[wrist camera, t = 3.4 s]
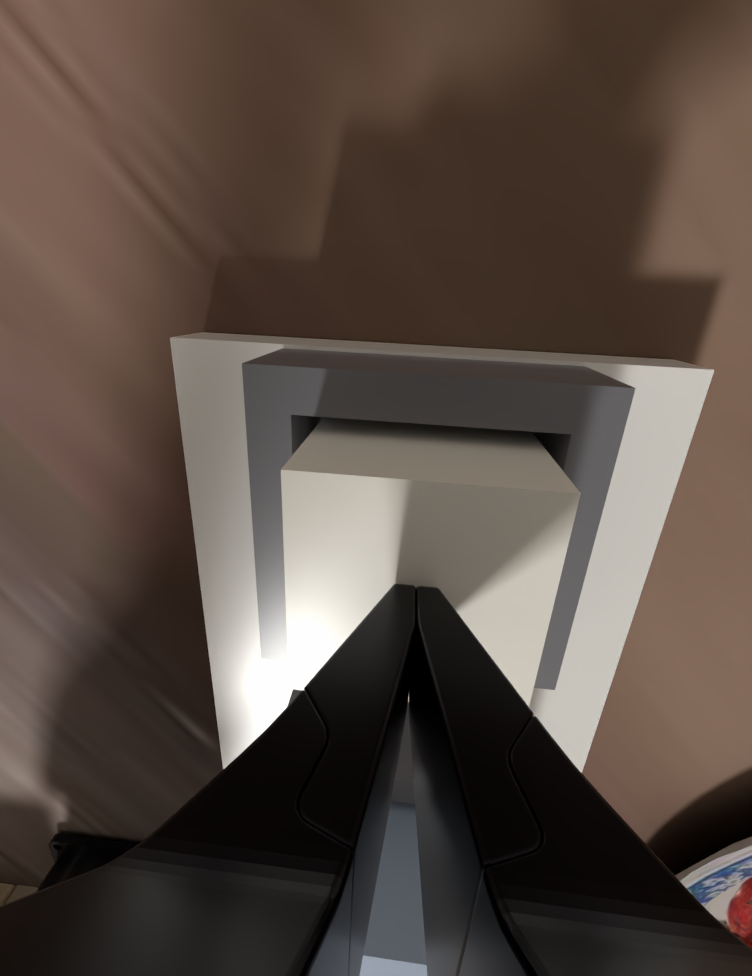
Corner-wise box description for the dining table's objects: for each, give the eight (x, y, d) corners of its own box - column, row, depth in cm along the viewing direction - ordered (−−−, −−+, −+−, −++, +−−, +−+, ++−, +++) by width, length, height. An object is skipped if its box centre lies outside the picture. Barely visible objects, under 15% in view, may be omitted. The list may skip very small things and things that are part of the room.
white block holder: (244, 771, 22) (197, 896, 17) (202, 331, 14) (96, 349, 10) (542, 808, 21) (575, 951, 16) (673, 359, 13) (807, 394, 9)
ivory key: (325, 581, 13) (288, 688, 10) (326, 413, 11) (281, 469, 8) (497, 597, 13) (527, 715, 9) (528, 428, 11) (580, 493, 7)
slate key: (317, 874, 17) (287, 1034, 13) (316, 784, 15) (282, 943, 11) (453, 893, 17) (461, 1063, 13) (470, 803, 15) (487, 974, 11)
